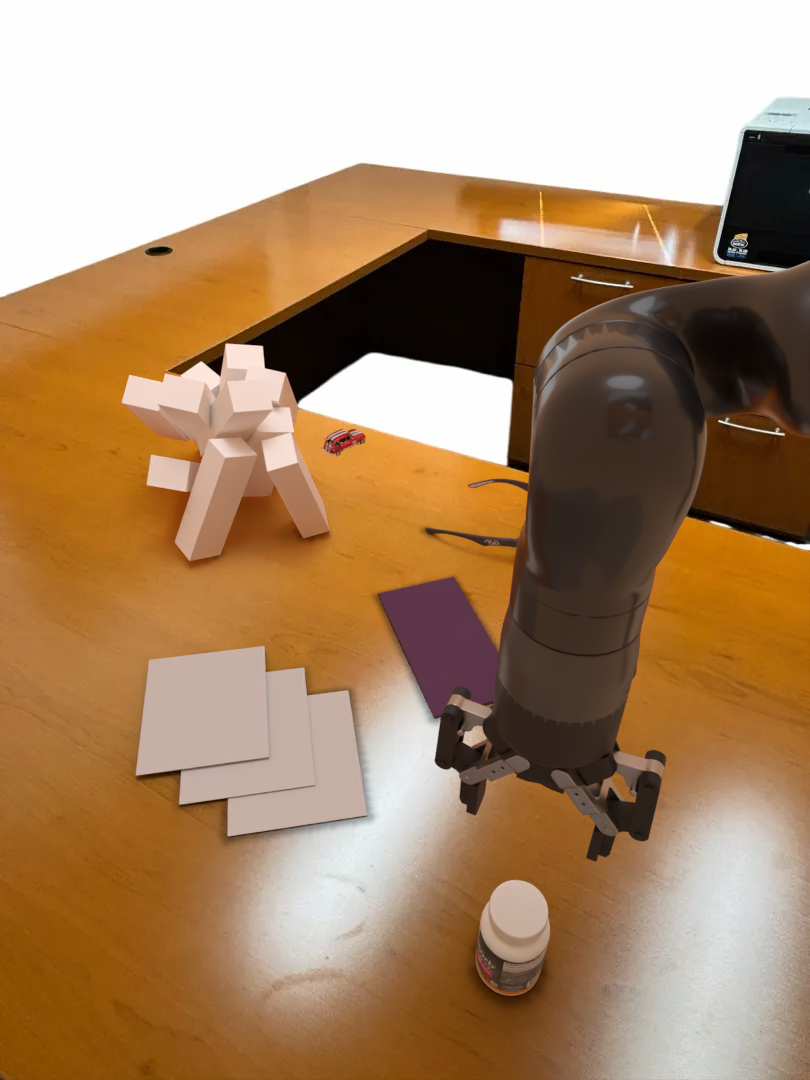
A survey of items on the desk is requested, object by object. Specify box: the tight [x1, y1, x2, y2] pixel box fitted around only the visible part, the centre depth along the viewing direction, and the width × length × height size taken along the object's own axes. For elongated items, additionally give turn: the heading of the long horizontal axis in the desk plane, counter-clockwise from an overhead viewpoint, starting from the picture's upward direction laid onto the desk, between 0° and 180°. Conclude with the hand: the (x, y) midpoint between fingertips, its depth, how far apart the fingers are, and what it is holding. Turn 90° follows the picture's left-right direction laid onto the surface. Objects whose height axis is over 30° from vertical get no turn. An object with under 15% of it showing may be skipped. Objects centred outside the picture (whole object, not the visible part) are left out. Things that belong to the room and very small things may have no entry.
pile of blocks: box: [121, 343, 331, 562], centre depth 112 cm, size 35×30×35 cm
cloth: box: [377, 576, 499, 719], centre depth 98 cm, size 22×11×1 cm, turn 19°
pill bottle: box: [475, 879, 551, 997], centre depth 64 cm, size 6×6×10 cm
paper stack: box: [135, 645, 368, 837], centre depth 86 cm, size 23×25×1 cm
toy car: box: [322, 428, 367, 457], centre depth 134 cm, size 4×8×3 cm, turn 133°
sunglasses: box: [424, 478, 528, 549], centre depth 116 cm, size 16×17×5 cm
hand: (533, 826), depth 54 cm, fingers open, 8 cm apart
